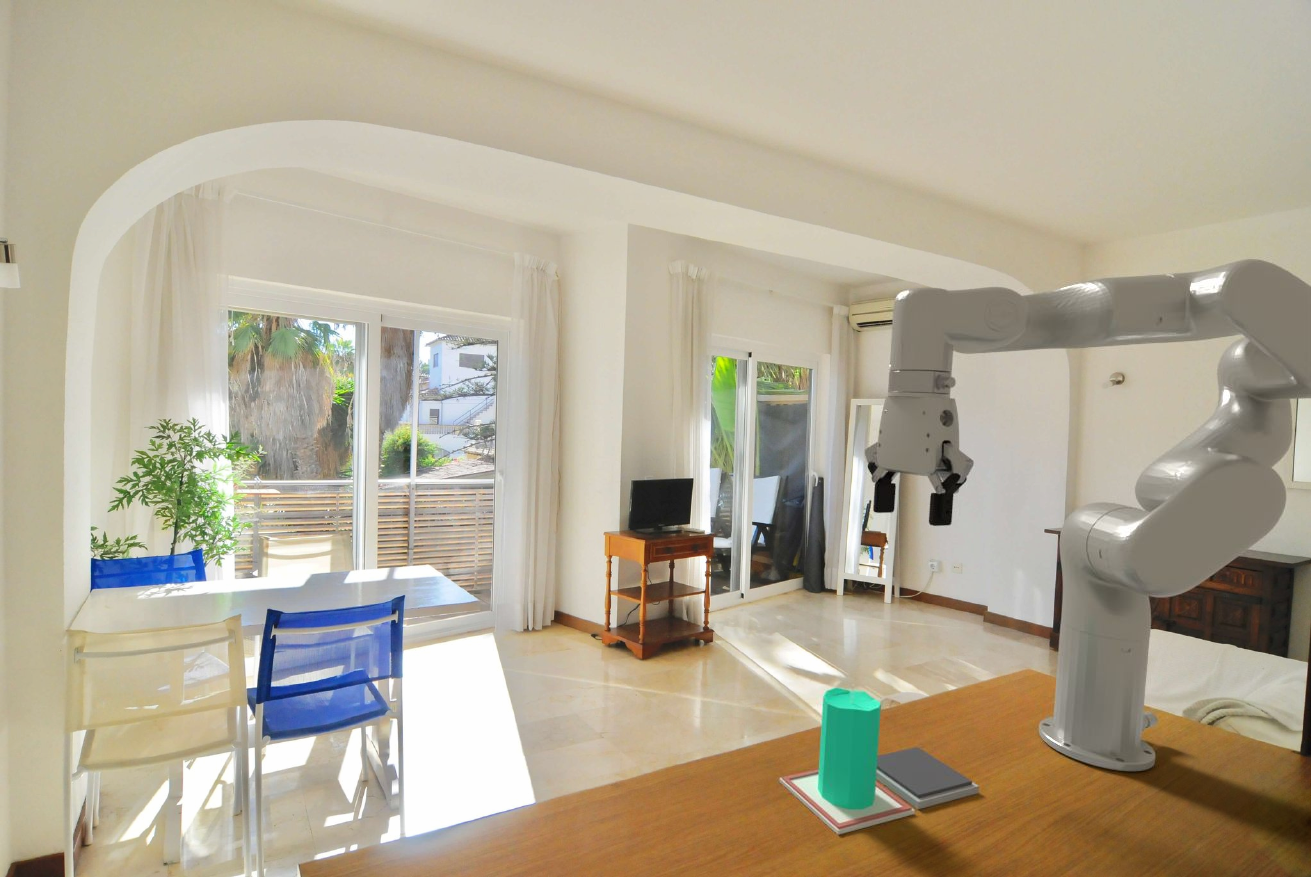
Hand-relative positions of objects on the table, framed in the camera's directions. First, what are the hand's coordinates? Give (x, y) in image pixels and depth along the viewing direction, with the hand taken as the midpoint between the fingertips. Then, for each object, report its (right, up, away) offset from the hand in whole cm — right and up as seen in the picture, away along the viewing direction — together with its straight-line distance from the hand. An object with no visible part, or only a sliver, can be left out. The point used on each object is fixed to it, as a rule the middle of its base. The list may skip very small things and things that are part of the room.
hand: (910, 518), depth 88 cm
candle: (-13, -28, -15) cm, 34 cm away
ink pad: (-3, -29, -10) cm, 31 cm away
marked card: (-13, -28, -15) cm, 34 cm away
